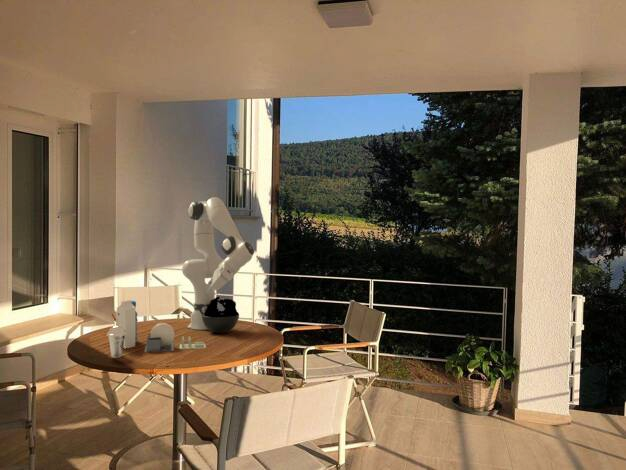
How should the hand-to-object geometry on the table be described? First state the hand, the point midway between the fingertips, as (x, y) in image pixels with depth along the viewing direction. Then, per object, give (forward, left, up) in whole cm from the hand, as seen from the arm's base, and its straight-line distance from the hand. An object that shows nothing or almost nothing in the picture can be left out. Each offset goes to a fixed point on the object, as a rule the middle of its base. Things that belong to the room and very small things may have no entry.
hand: (208, 287), depth 262 cm
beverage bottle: (-8, -38, -28) cm, 48 cm away
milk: (+3, -38, -28) cm, 47 cm away
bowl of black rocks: (-22, +8, -28) cm, 36 cm away
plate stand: (+11, -7, -27) cm, 30 cm away
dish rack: (+11, -22, -27) cm, 37 cm away
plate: (+11, -22, -26) cm, 36 cm away
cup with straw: (+21, -40, -27) cm, 53 cm away
